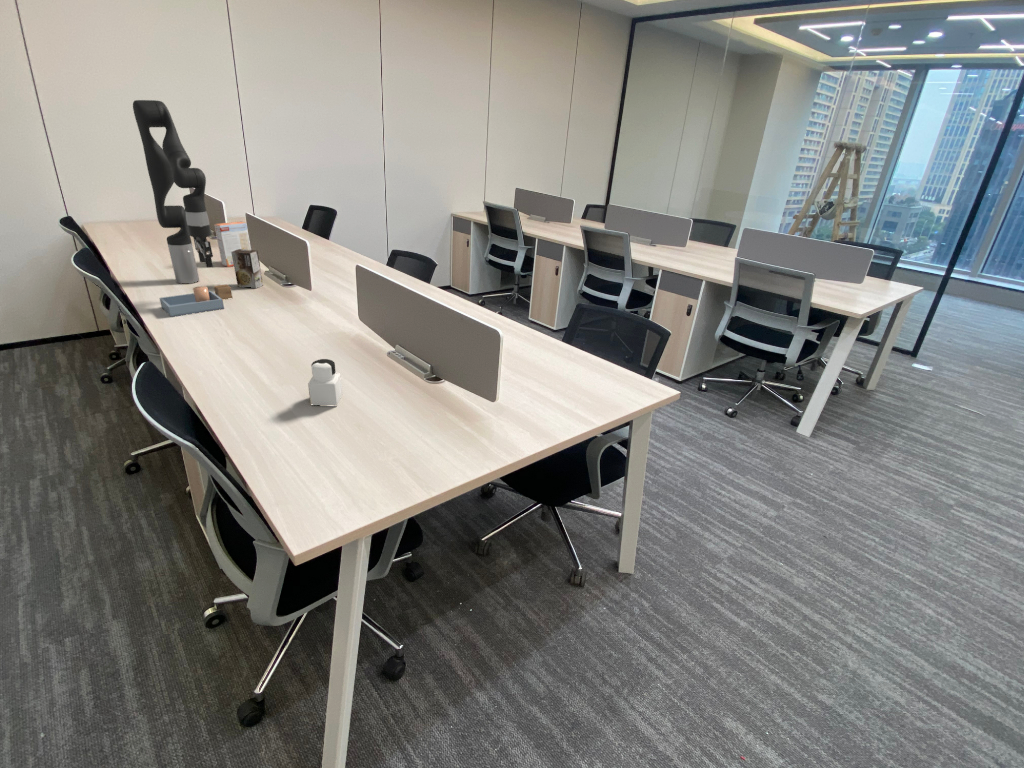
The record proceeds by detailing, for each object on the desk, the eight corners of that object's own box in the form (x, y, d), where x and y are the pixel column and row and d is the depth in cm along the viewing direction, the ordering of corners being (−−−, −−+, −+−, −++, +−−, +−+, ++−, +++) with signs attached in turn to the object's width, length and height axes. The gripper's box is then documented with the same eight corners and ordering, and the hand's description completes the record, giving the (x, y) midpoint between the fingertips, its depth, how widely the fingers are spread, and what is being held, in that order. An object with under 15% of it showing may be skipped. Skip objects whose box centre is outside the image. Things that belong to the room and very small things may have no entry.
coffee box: (263, 285, 237) (258, 250, 230) (256, 288, 231) (250, 253, 224) (245, 283, 238) (239, 248, 231) (236, 287, 232) (230, 251, 225)
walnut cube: (216, 297, 217) (213, 286, 215) (228, 295, 221) (226, 284, 218) (219, 300, 214) (217, 288, 212) (232, 298, 218) (230, 287, 215)
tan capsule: (195, 304, 206) (191, 287, 203) (208, 302, 209) (205, 285, 206) (198, 307, 203) (195, 290, 200) (212, 305, 206) (209, 288, 203)
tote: (161, 307, 202) (159, 297, 200) (213, 300, 214) (211, 290, 212) (171, 317, 193) (168, 307, 191) (224, 308, 205) (222, 299, 203)
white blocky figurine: (317, 394, 147) (312, 356, 141) (342, 395, 147) (339, 356, 142) (310, 406, 140) (305, 366, 135) (337, 406, 141) (333, 367, 136)
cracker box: (247, 261, 274) (241, 221, 265) (253, 263, 271) (247, 222, 262) (221, 265, 264) (213, 223, 254) (227, 267, 260) (219, 225, 251)
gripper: (182, 220, 200) (191, 261, 208) (192, 227, 191) (201, 270, 199) (203, 219, 205) (211, 259, 212) (214, 226, 196) (222, 267, 203)
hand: (206, 264), depth 205 cm, fingers open, 8 cm apart
